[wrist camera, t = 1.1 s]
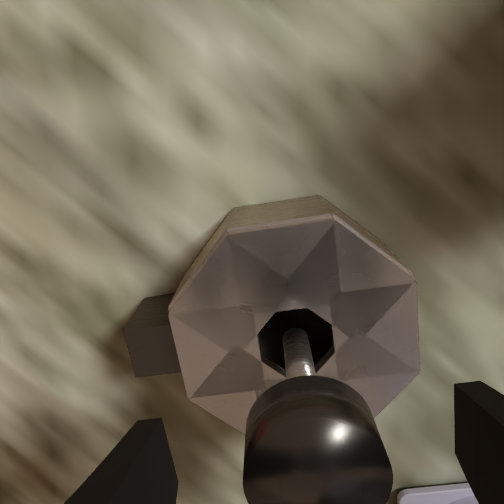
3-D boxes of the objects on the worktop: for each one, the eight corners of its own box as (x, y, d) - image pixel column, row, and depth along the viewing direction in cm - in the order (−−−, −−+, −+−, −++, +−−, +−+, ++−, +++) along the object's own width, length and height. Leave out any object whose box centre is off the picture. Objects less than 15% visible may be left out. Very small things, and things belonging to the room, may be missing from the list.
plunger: (344, 372, 15) (396, 531, 9) (257, 383, 16) (255, 544, 10) (336, 291, 14) (388, 412, 8) (243, 304, 15) (231, 430, 9)
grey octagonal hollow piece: (393, 371, 19) (425, 431, 16) (171, 397, 20) (150, 460, 16) (382, 185, 17) (417, 204, 13) (128, 223, 18) (92, 251, 14)
